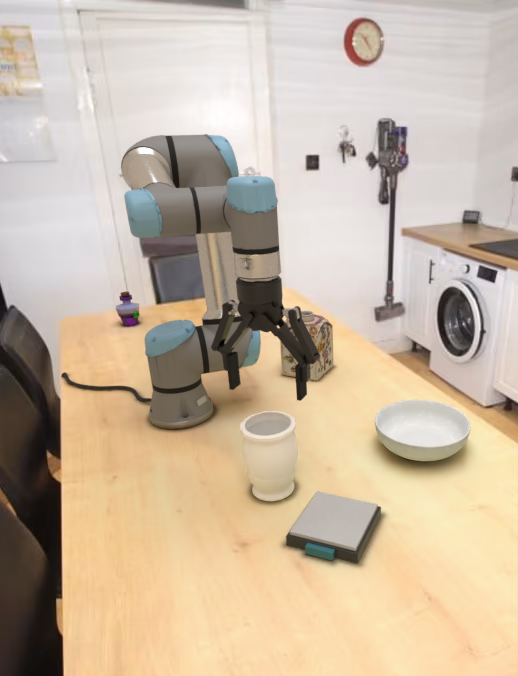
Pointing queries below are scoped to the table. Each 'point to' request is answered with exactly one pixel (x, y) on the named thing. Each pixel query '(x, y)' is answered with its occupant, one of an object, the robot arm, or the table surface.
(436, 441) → the serving bowl
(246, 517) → the table surface
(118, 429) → the table surface
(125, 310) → the potion bottle
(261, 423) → the jar
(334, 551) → the scale
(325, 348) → the decorative jar
